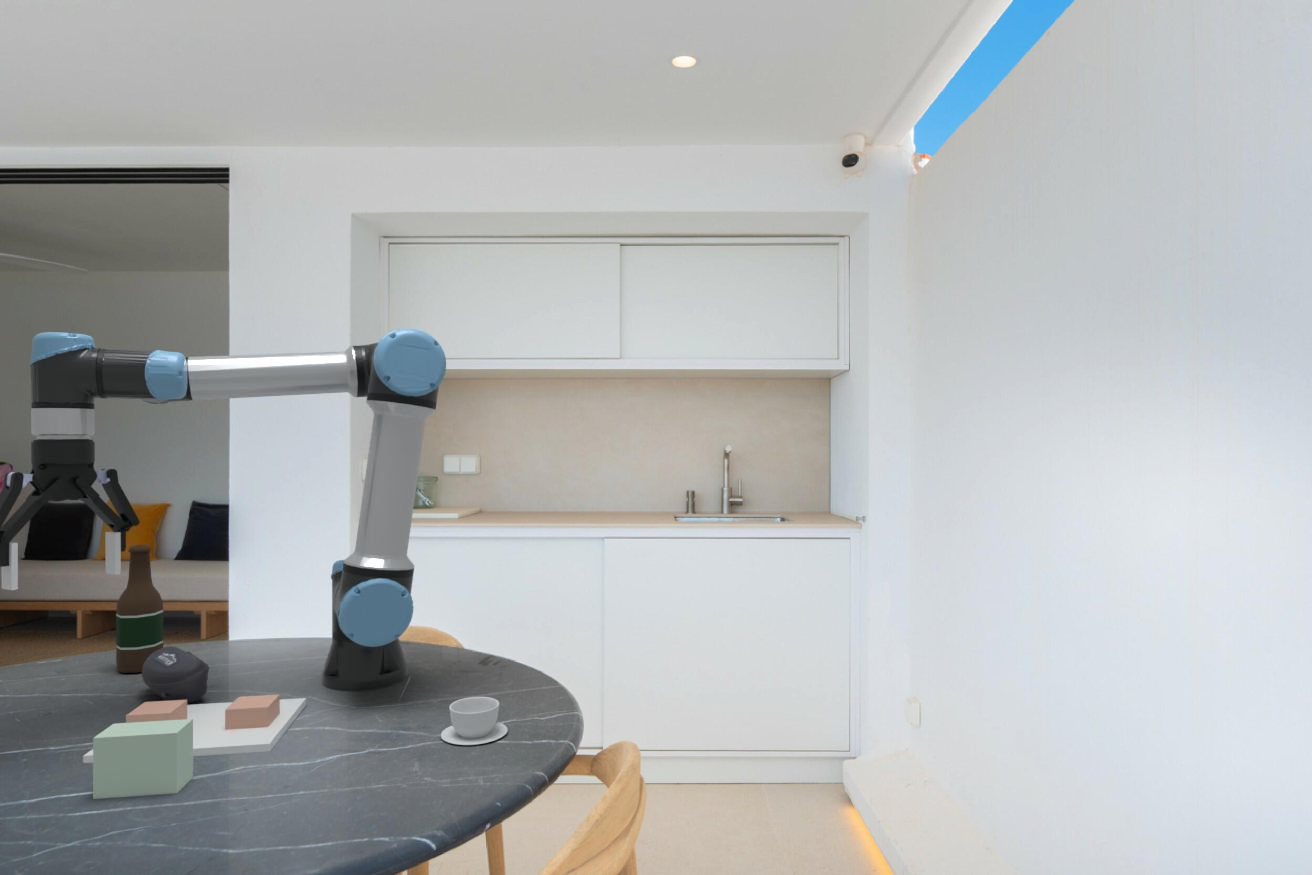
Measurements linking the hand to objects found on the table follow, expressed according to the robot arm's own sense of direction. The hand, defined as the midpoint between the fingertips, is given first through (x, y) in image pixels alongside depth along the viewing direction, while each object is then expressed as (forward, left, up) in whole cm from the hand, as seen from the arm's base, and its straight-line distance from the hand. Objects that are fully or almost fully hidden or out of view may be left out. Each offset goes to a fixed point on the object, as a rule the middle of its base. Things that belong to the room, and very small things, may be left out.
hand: (64, 581), depth 116 cm
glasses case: (-8, -19, -24) cm, 32 cm away
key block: (-19, +20, -24) cm, 36 cm away
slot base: (-19, 0, -24) cm, 31 cm away
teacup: (-60, +8, -24) cm, 65 cm away
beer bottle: (+7, -39, -24) cm, 47 cm away
